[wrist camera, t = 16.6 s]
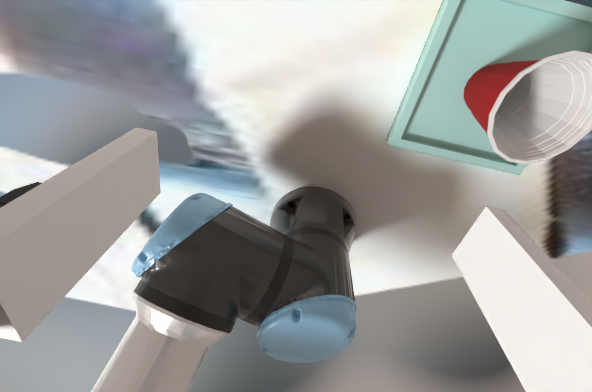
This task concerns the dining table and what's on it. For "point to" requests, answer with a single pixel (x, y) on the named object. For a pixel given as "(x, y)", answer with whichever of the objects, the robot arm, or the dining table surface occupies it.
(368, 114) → the dining table surface
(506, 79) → the plastic cup
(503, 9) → the tray
